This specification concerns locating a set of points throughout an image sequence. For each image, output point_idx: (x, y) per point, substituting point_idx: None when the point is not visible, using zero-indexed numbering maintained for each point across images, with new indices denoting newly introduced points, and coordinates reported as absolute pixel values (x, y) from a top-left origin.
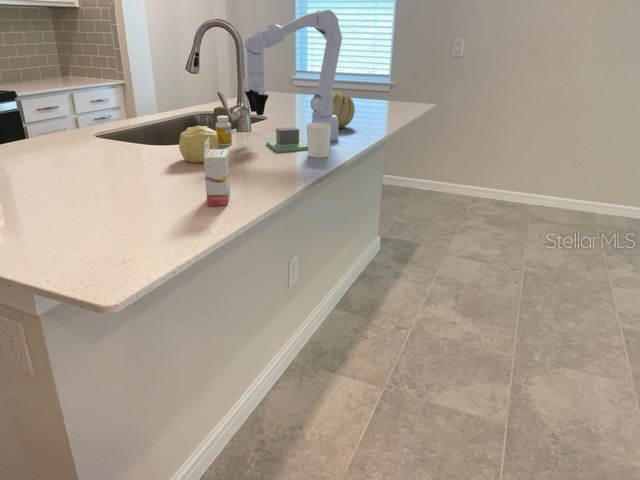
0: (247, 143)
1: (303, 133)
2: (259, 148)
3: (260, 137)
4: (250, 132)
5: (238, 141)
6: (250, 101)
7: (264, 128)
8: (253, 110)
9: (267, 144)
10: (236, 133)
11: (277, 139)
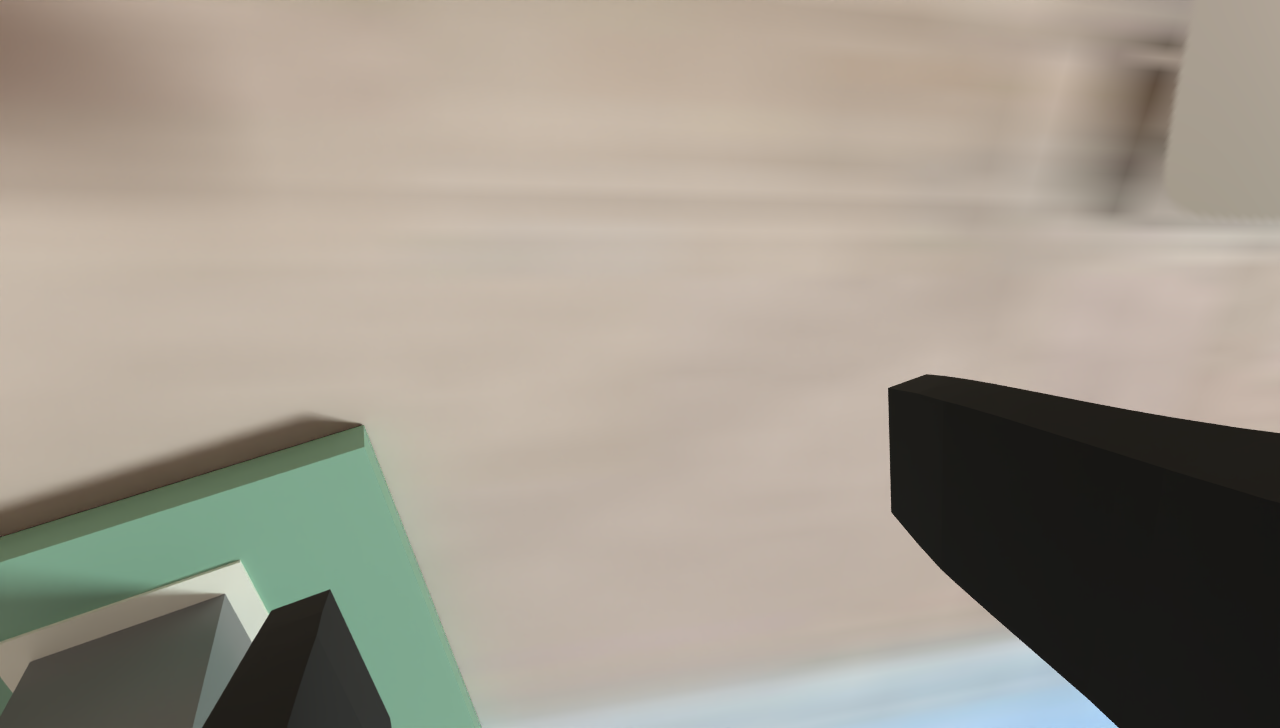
0: (460, 146)
1: (888, 715)
2: (67, 336)
3: (810, 330)
4: (1080, 208)
5: (614, 4)
6: (1180, 517)
7: (1187, 359)
8: (913, 448)
9: (306, 448)
10: (1089, 20)
11: (143, 662)
